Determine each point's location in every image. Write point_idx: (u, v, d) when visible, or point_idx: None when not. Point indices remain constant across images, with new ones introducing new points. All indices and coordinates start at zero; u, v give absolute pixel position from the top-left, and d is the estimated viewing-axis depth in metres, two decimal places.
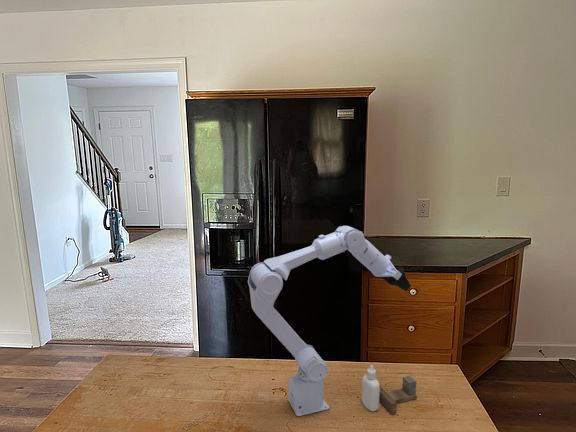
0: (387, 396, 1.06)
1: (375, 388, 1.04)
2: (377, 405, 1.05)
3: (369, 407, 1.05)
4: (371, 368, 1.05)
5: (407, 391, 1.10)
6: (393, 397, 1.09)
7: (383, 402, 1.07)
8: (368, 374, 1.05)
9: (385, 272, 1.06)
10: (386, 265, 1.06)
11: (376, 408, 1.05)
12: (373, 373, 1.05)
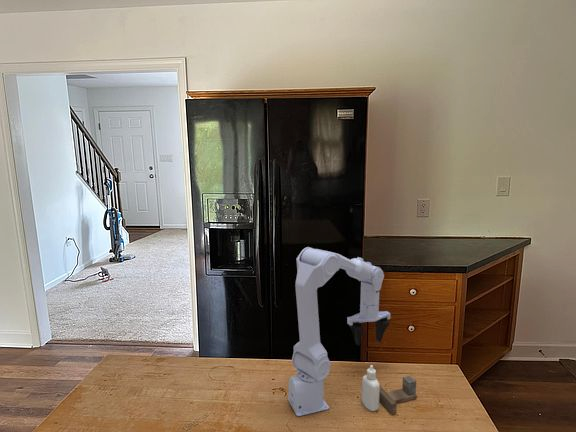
0: (387, 396, 1.06)
1: (375, 388, 1.04)
2: (377, 405, 1.05)
3: (369, 407, 1.05)
4: (371, 368, 1.05)
5: (407, 391, 1.10)
6: (393, 397, 1.09)
7: (383, 402, 1.07)
8: (368, 374, 1.05)
9: (379, 316, 1.22)
10: None
11: (376, 408, 1.05)
12: (373, 373, 1.05)
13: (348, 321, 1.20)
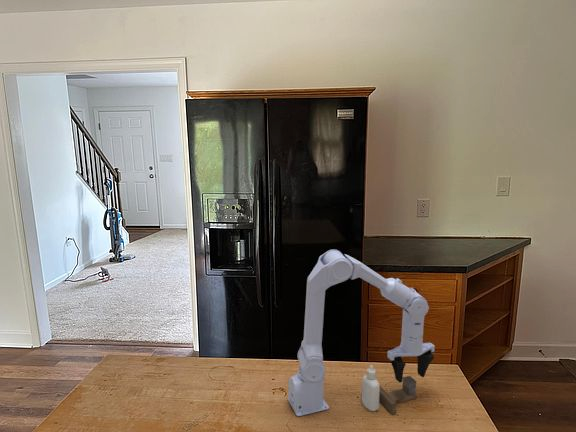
0: (387, 396, 1.06)
1: (375, 388, 1.04)
2: (377, 405, 1.05)
3: (369, 407, 1.05)
4: (371, 368, 1.05)
5: (407, 391, 1.10)
6: (393, 397, 1.09)
7: (383, 402, 1.07)
8: (368, 374, 1.05)
9: (422, 349, 1.09)
10: None
11: (376, 408, 1.05)
12: (373, 373, 1.05)
13: (389, 355, 1.07)
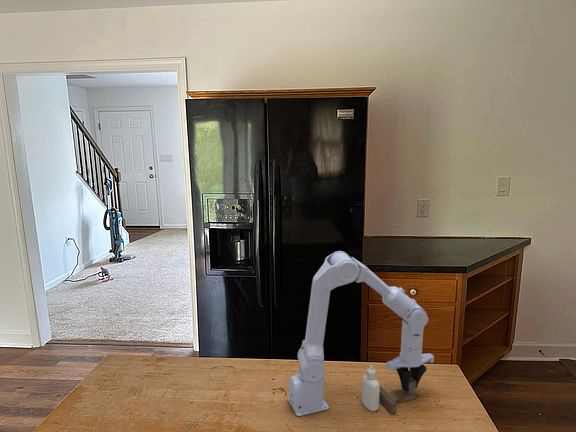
0: (387, 396, 1.06)
1: (375, 388, 1.04)
2: (377, 405, 1.05)
3: (369, 407, 1.05)
4: (371, 368, 1.05)
5: (407, 391, 1.10)
6: (393, 397, 1.09)
7: (383, 402, 1.07)
8: (368, 374, 1.05)
9: (421, 359, 1.10)
10: None
11: (376, 408, 1.05)
12: (373, 373, 1.05)
13: (388, 366, 1.08)
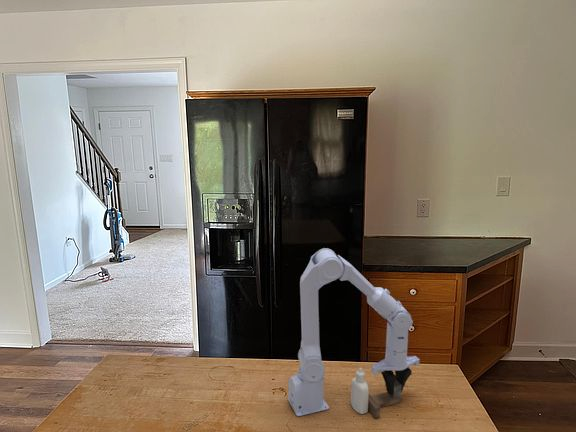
0: (371, 400, 1.05)
1: (364, 390, 1.03)
2: (366, 408, 1.04)
3: (358, 410, 1.04)
4: (360, 370, 1.04)
5: (392, 395, 1.09)
6: (378, 401, 1.07)
7: None
8: (357, 376, 1.04)
9: (407, 362, 1.08)
10: None
11: (365, 411, 1.04)
12: (362, 375, 1.04)
13: (373, 369, 1.06)
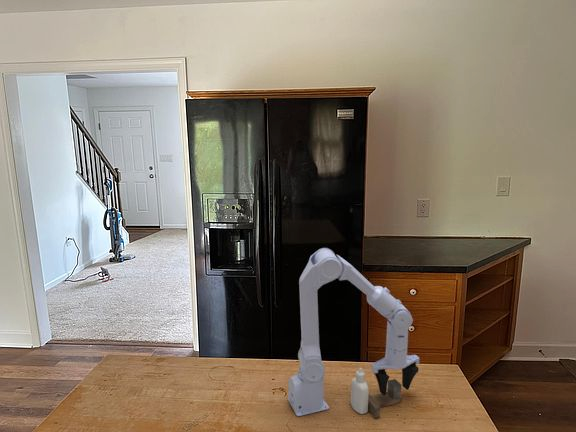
0: (371, 400, 1.05)
1: (364, 390, 1.03)
2: (366, 408, 1.04)
3: (358, 410, 1.04)
4: (360, 370, 1.04)
5: (392, 395, 1.09)
6: (378, 401, 1.07)
7: None
8: (357, 376, 1.04)
9: (407, 361, 1.08)
10: None
11: (365, 411, 1.04)
12: (362, 375, 1.04)
13: (373, 368, 1.06)
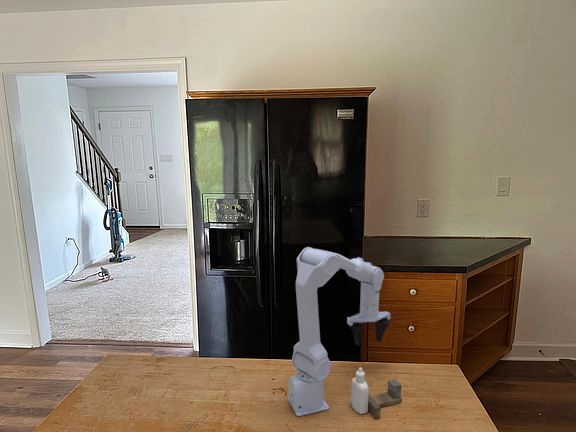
0: (371, 400, 1.05)
1: (364, 391, 1.03)
2: (366, 408, 1.04)
3: (358, 410, 1.04)
4: (360, 370, 1.04)
5: (392, 395, 1.09)
6: (378, 401, 1.07)
7: None
8: (357, 376, 1.04)
9: (379, 316, 1.22)
10: None
11: (365, 411, 1.04)
12: (362, 375, 1.04)
13: (348, 321, 1.20)
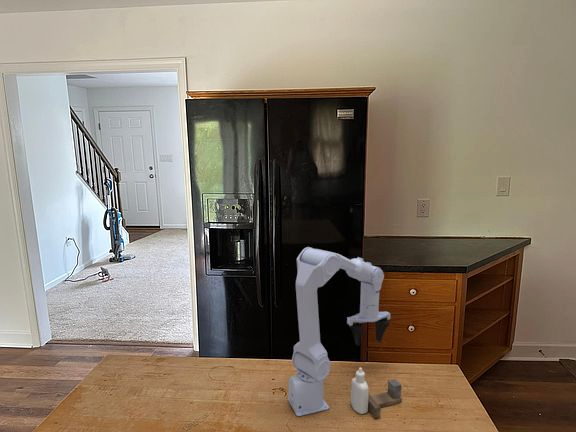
0: (371, 400, 1.05)
1: (364, 390, 1.03)
2: (366, 408, 1.04)
3: (358, 410, 1.04)
4: (360, 370, 1.04)
5: (392, 395, 1.09)
6: (378, 401, 1.07)
7: None
8: (357, 376, 1.04)
9: (379, 316, 1.22)
10: None
11: (365, 411, 1.04)
12: (362, 375, 1.04)
13: (348, 321, 1.20)
